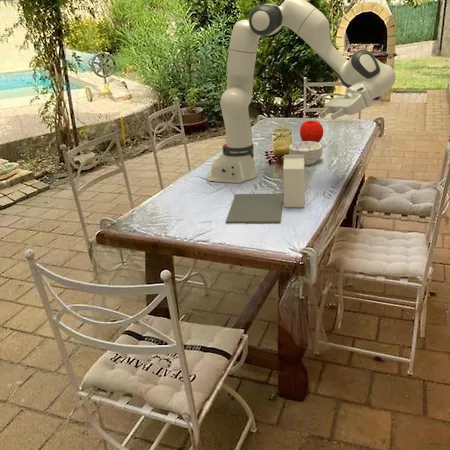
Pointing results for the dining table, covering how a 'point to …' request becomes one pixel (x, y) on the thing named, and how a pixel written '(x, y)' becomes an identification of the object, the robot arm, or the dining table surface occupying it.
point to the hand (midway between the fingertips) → (326, 117)
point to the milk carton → (294, 180)
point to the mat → (256, 208)
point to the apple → (311, 131)
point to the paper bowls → (307, 151)
